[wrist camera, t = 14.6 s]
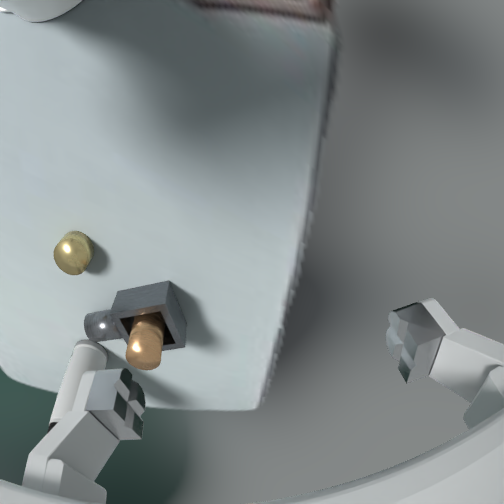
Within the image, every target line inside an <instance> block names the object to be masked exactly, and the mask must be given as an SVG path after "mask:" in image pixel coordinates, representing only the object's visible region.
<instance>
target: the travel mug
mask: <svg viewBox="0 0 504 504" xmlns="http://www.w3.org/2000/svg"><path fill="white" fill-rule="evenodd" d="M107 360H108V355H107V352H106V350H105V349H104V348H103V347H102V346H101V345H99V344H98V343H96V342H92V341H90V340H81V341H79V342H77V343H76V345H75V347H74V350H73V353H72V355H71V358H70V361H69V364H68V366H67V369H66V372H65V375H64V378H63V381H62V384H61V387H60V390H59V393H58V396H57V399H56V403H55V406H54V409H53V413H52V416H51V419H50V423H49V429H48V432H47V434H48V433H49V432H50V430H51V429H52V428H53V427H54V426H55V425H56V424H57V423H58V422H59V421H60V420H61V419H62V418H63V416H64V415H65V414H66V413H67V412H68V411H72V409H73V405H74V402H75V398H76V395H77V391H78V388H79V385H80V381H81V378H82V375H83V374H84V373H85V372H86V371H96V370H105V367H106V363H107Z"/></svg>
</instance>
